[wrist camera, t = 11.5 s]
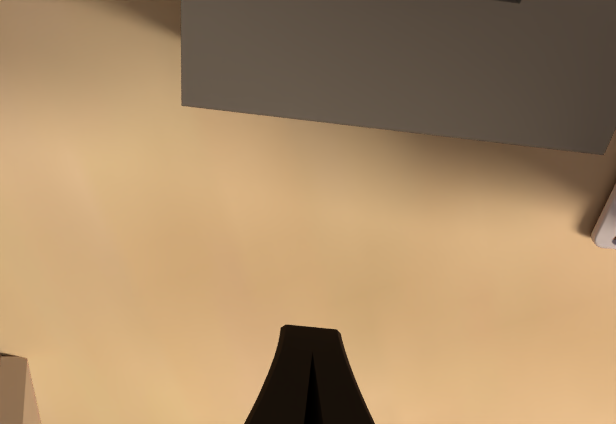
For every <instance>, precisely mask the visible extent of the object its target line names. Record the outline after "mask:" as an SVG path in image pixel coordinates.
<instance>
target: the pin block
mask: <svg viewBox="0 0 616 424" xmlns="http://www.w3.org/2000/svg"><path fill="white" fill-rule="evenodd" d="M181 100H182V106H188V107H197V108H206V109H214V110H223V111H231V112H240V113H248V114H257V115H265V116H274V117H282V118H291V119H299V120H308V121H316V122H325V123H334V124H342V125H351V126H359V127H368V128H376V129H385V130H393V131H402V132H410V133H419V134H427V135H436V136H445V137H453V138H462V139H470V140H479V141H487V142H496V143H504V144H513V145H521V146H530V147H538V148H547V149H556V150H564V151H573V152H581V153H590V154H598V155H604V153H605V151H606V149H607V147H608V145H609V142H610V140H611V138H612V136H613V134H614V131H615V129H616V0H181Z"/></svg>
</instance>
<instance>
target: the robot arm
mask: <svg viewBox="0 0 616 424" xmlns="http://www.w3.org/2000/svg"><path fill="white" fill-rule="evenodd" d="M615 236H616V184H615V186H614V188H613V190H612V192H611V194H610V196H609V198H608V200H607V202H606V205H605V207H604V209H603V211H602V213H601V215H600V217H599V219H598V221H597V223H596V225H595V227H594V229H593V231H592V234H591V239H592V241H593V242H594V243H595V245H597V246H598V247H601V248H608V249H616V239H614V240H613V238H614V237H615ZM244 424H375V423H374V421H373V419H372V417H371V414H370V412H369V410H368V408H367V406H366V403H365V401H364V399H363V397H362V394H361V392H360V390H359V387H358V385H357V382H356V380H355V377H354V375H353V372H352V369H351V367H350V364H349V361H348V358H347V355H346V352H345V349H344V345H343V342H342V338H341V334H340V333H339V331H338V330H336V329H326V328H316V327H305V326H295V325H285V326H283V327H281V330H280V337H279V342H278V346H277V350H276V353H275V356H274V359H273V362H272V364H271V367H270V370H269V372H268V375H267V377H266V379H265V382H264V384H263V386H262V389H261V391H260V393H259V396H258V398H257V400H256V402H255V404H254V406H253V408H252V410H251V412H250V413H249V415H248V417H247V419H246V421H245V423H244Z"/></svg>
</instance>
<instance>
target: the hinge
mask: <svg viewBox="0 0 616 424" xmlns="http://www.w3.org/2000/svg"><path fill="white" fill-rule="evenodd" d="M0 424H41V419H40V415H39V410H38V405H37V401H36V396H35V392H34V387H33V383H32V378H31V374H30V369H29V365H28V360H27V359H26V358H22V357H18V356H2V357H1V358H0Z"/></svg>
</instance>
